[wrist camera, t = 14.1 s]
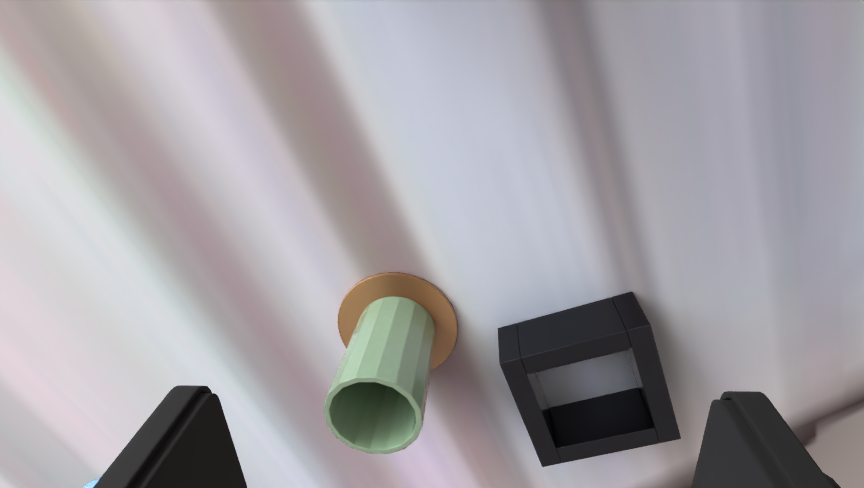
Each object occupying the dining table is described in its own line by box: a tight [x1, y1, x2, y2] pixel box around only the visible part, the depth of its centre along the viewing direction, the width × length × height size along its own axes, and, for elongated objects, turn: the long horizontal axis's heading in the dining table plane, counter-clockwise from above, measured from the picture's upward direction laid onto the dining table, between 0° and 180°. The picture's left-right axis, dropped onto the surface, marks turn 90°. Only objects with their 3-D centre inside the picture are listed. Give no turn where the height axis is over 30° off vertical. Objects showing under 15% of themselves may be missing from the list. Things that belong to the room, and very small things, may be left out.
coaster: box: [338, 273, 458, 370], centre depth 41 cm, size 10×10×1 cm
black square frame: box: [498, 292, 681, 467], centre depth 39 cm, size 11×11×5 cm
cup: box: [323, 296, 436, 454], centre depth 37 cm, size 6×6×10 cm
